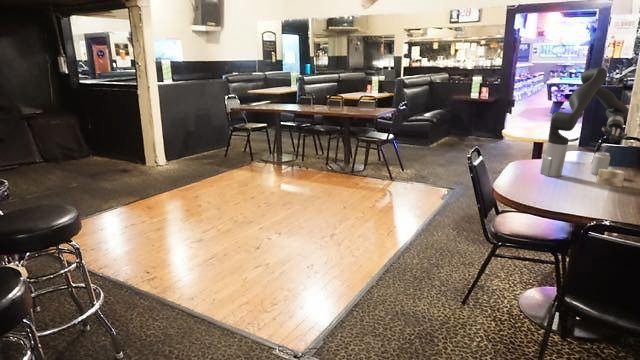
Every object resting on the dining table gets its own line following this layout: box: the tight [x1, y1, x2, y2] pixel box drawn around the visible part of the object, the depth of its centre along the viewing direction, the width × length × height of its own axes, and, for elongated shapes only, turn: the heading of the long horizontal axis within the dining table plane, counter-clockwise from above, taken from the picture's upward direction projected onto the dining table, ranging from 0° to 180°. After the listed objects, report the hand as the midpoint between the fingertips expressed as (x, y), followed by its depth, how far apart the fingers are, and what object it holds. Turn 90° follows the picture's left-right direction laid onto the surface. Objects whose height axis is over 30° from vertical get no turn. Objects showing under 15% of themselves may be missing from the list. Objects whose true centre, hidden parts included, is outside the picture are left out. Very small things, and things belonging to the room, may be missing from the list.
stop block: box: [595, 169, 626, 187], centre depth 207 cm, size 10×4×7 cm, turn 71°
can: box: [589, 151, 611, 177], centre depth 224 cm, size 8×8×12 cm
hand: (613, 140), depth 223 cm, fingers closed
